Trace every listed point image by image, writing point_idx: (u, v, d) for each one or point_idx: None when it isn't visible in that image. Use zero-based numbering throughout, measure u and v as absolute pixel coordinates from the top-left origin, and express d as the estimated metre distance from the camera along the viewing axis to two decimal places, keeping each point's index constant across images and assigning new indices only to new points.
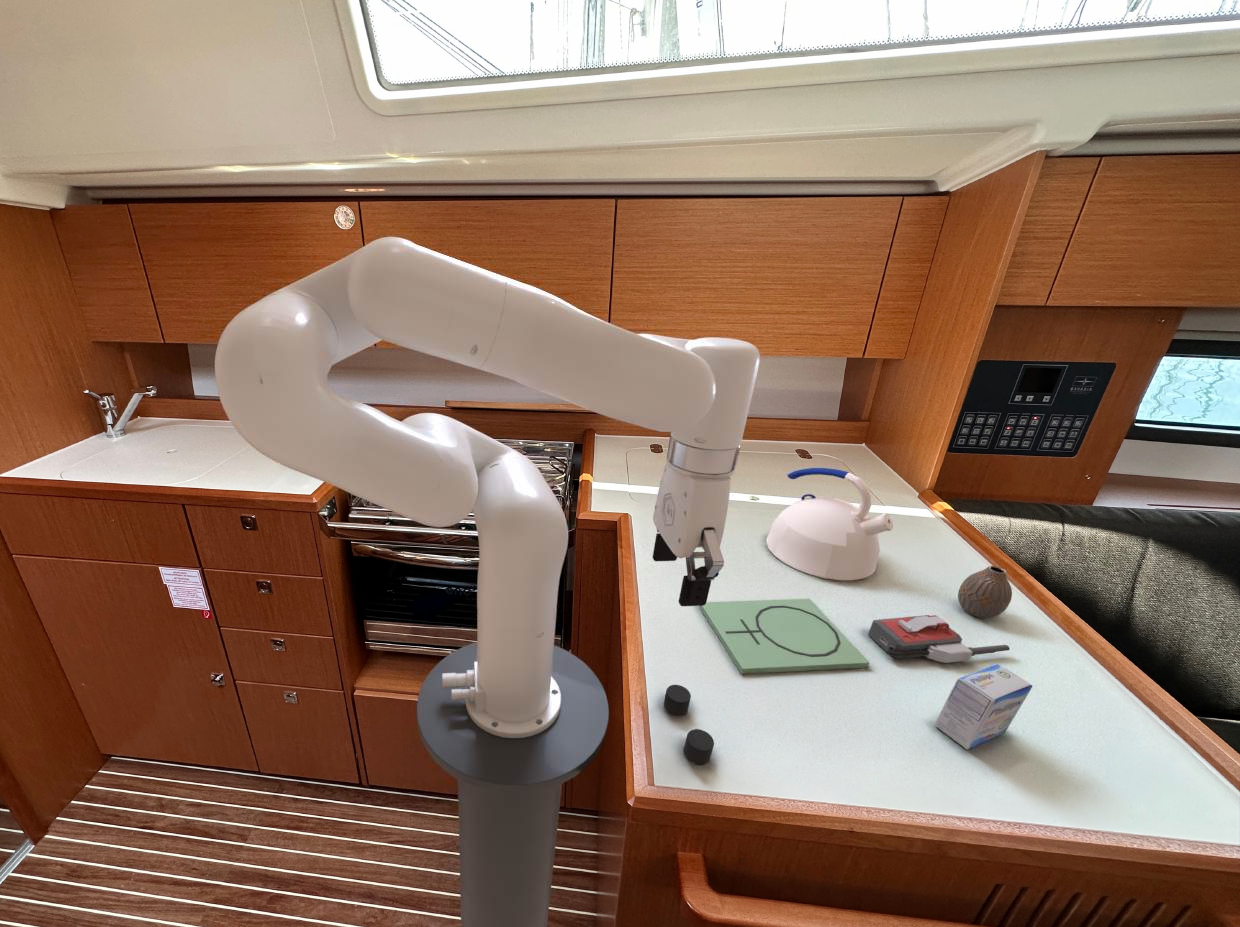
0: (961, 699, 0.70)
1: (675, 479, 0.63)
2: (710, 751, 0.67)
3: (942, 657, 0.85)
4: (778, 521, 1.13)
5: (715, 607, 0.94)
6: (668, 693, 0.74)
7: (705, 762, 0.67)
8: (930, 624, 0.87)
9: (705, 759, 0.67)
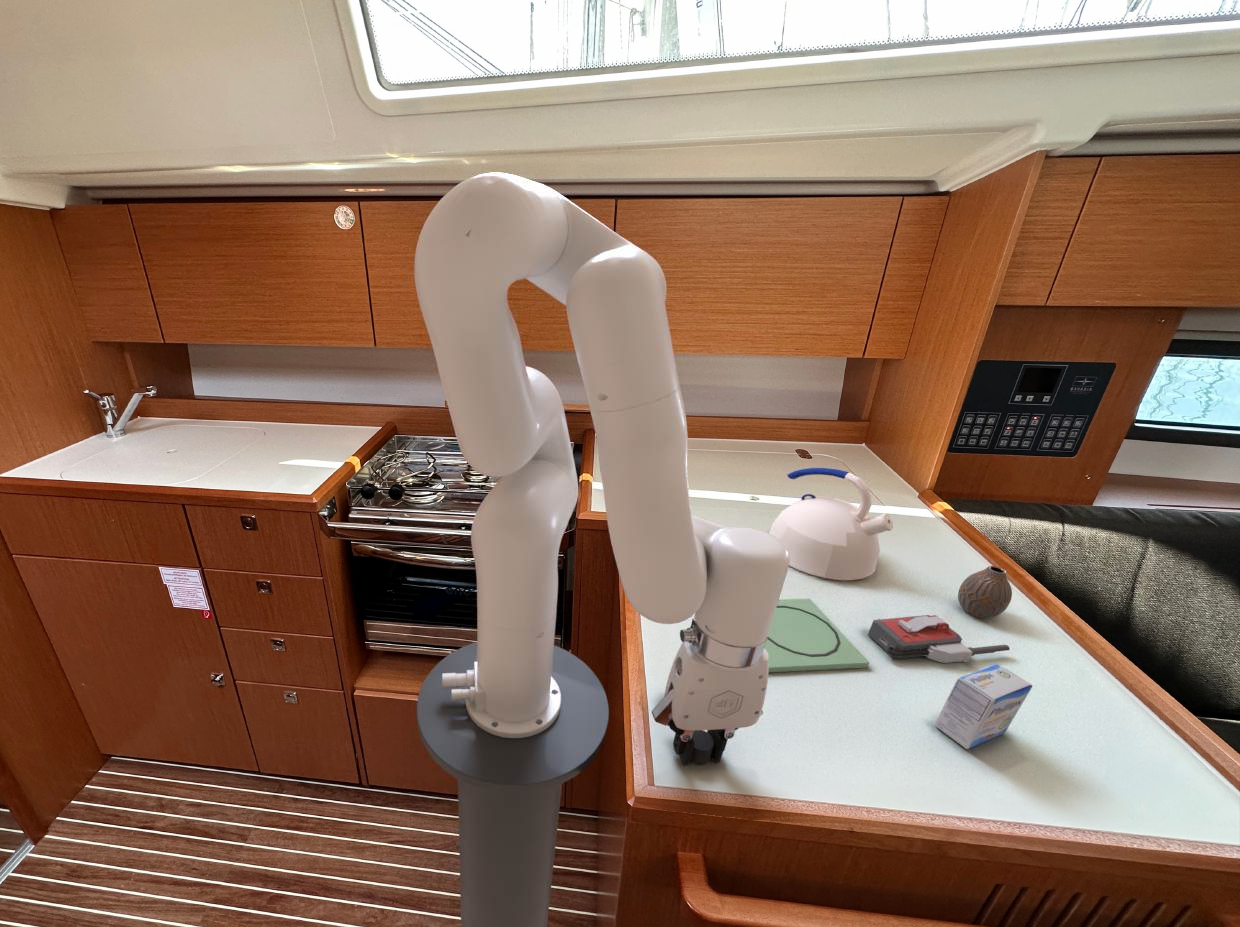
0: (961, 699, 0.70)
1: (735, 676, 0.59)
2: (710, 751, 0.67)
3: (942, 657, 0.85)
4: (778, 521, 1.13)
5: None
6: None
7: (705, 762, 0.67)
8: (930, 624, 0.87)
9: (705, 759, 0.67)
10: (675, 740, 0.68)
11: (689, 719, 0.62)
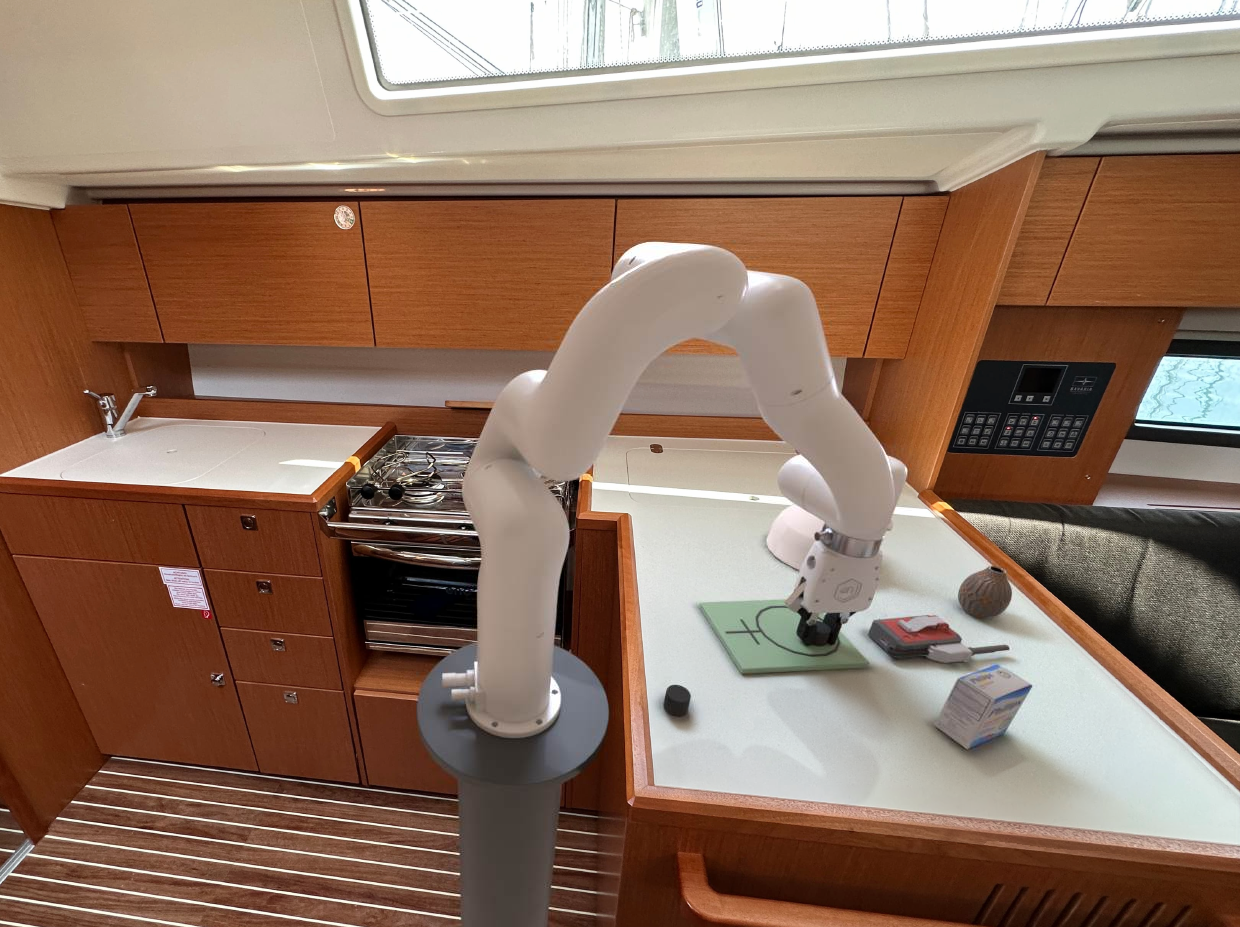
0: (961, 699, 0.70)
1: (858, 566, 0.78)
2: (828, 634, 0.86)
3: (942, 657, 0.85)
4: (778, 521, 1.13)
5: (715, 607, 0.94)
6: (668, 693, 0.74)
7: (824, 644, 0.86)
8: (930, 624, 0.87)
9: (824, 642, 0.86)
10: (799, 628, 0.87)
11: (819, 603, 0.81)
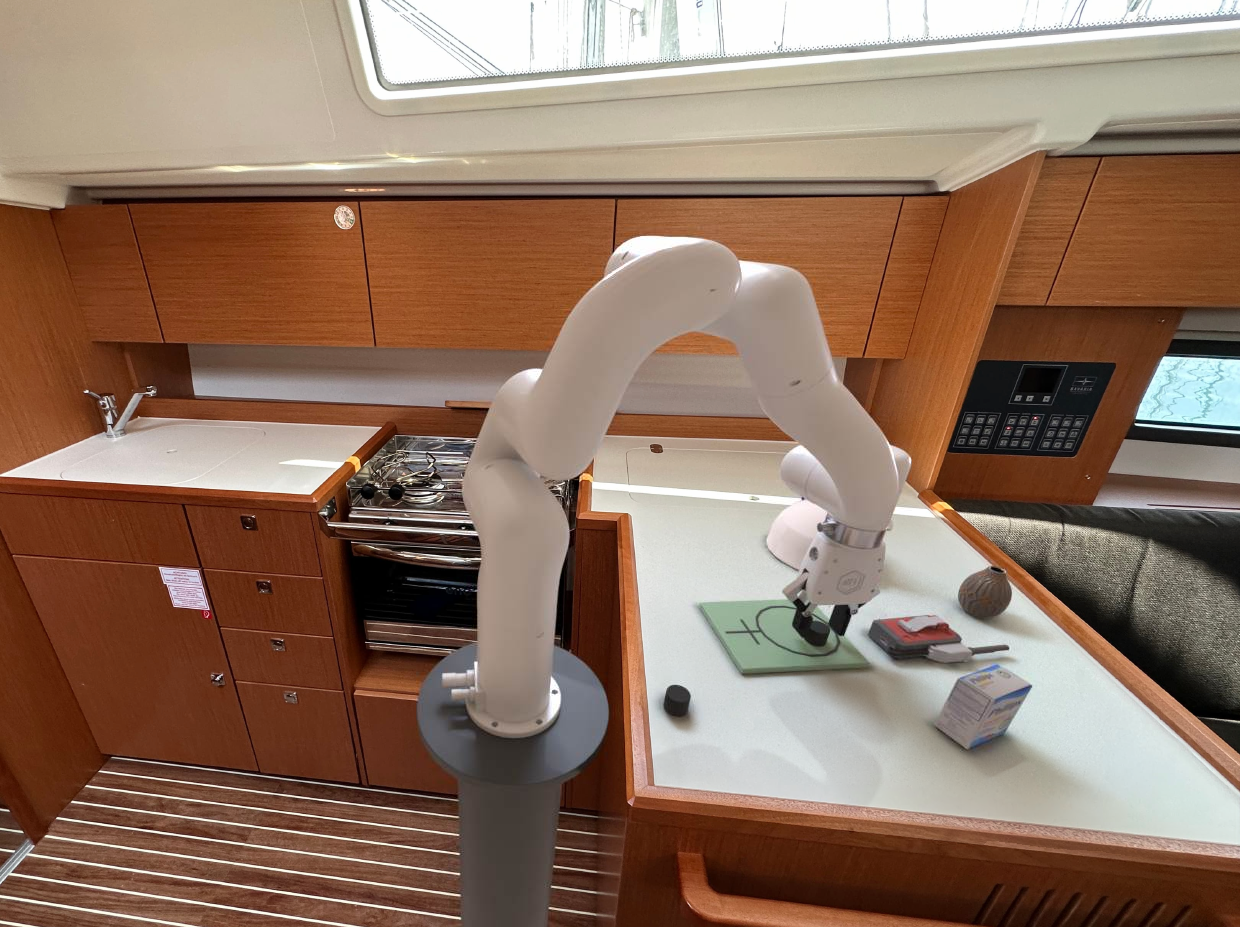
0: (961, 699, 0.70)
1: (861, 558, 0.78)
2: (828, 635, 0.86)
3: (942, 657, 0.85)
4: (778, 521, 1.13)
5: (715, 607, 0.94)
6: (668, 693, 0.74)
7: (823, 644, 0.86)
8: (930, 624, 0.87)
9: (824, 642, 0.86)
10: (794, 619, 0.86)
11: (821, 595, 0.80)
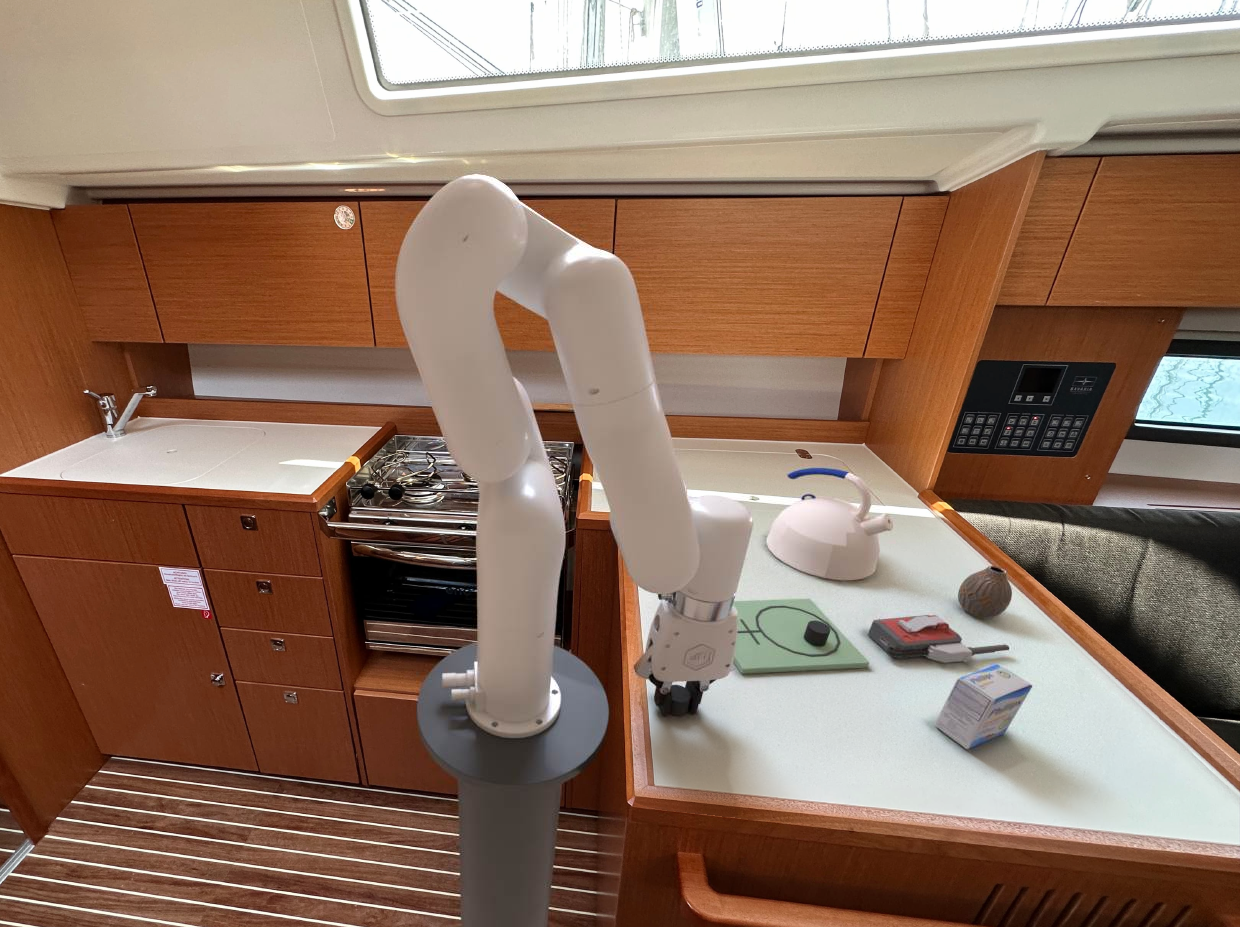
0: (961, 699, 0.70)
1: (707, 630, 0.66)
2: (828, 635, 0.86)
3: (942, 657, 0.85)
4: (778, 521, 1.13)
5: None
6: None
7: (823, 644, 0.86)
8: (930, 624, 0.87)
9: (824, 642, 0.86)
10: (655, 694, 0.75)
11: (666, 671, 0.69)
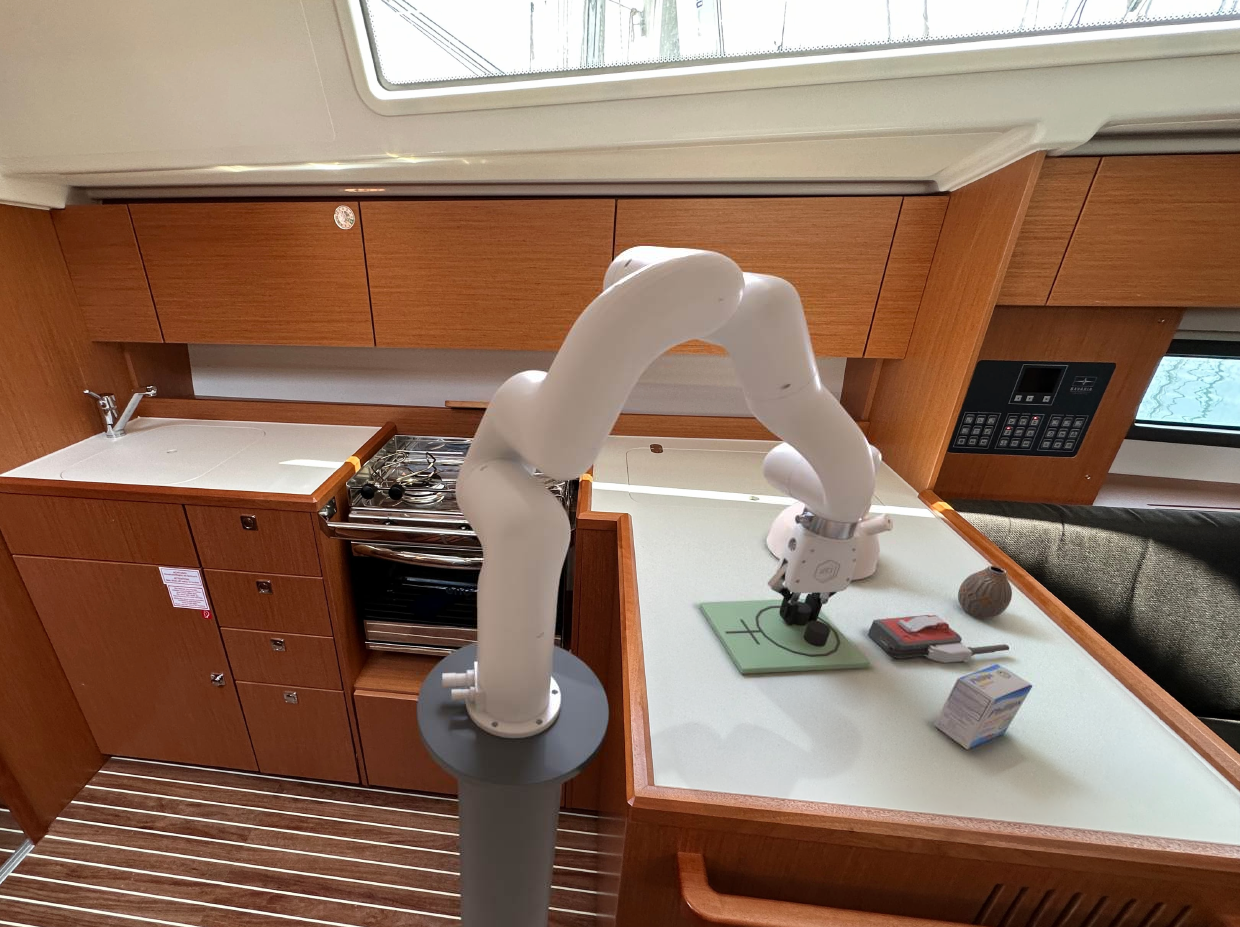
0: (961, 699, 0.70)
1: (836, 548, 0.83)
2: (828, 635, 0.86)
3: (942, 656, 0.85)
4: (778, 521, 1.13)
5: (715, 607, 0.94)
6: None
7: (823, 644, 0.86)
8: (930, 624, 0.87)
9: (824, 642, 0.86)
10: (781, 608, 0.91)
11: (799, 583, 0.85)
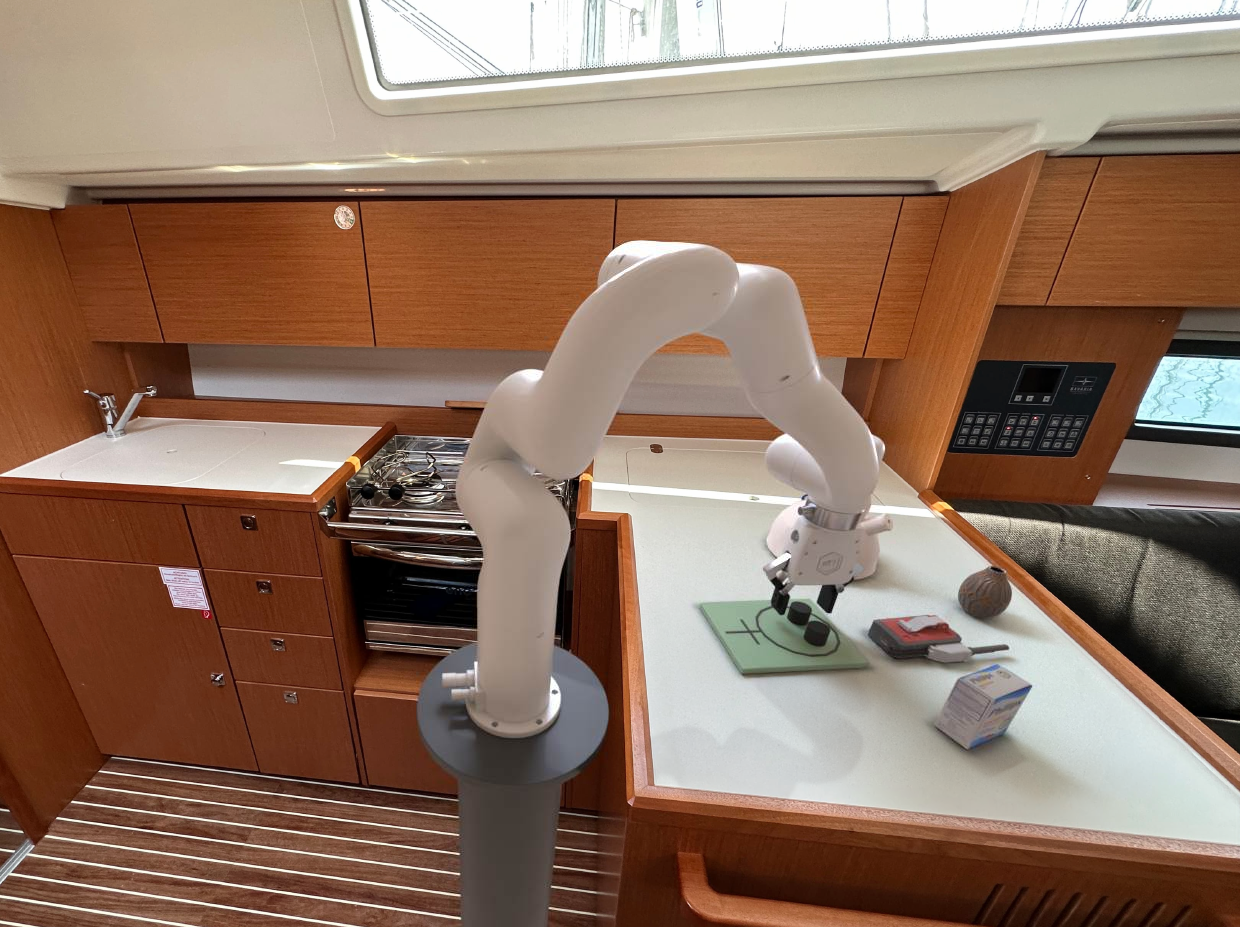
0: (961, 699, 0.70)
1: (839, 540, 0.82)
2: (828, 635, 0.86)
3: (942, 656, 0.85)
4: (778, 521, 1.13)
5: (715, 607, 0.94)
6: (793, 607, 0.91)
7: (823, 644, 0.86)
8: (930, 624, 0.87)
9: (824, 642, 0.86)
10: (773, 598, 0.90)
11: (802, 575, 0.84)
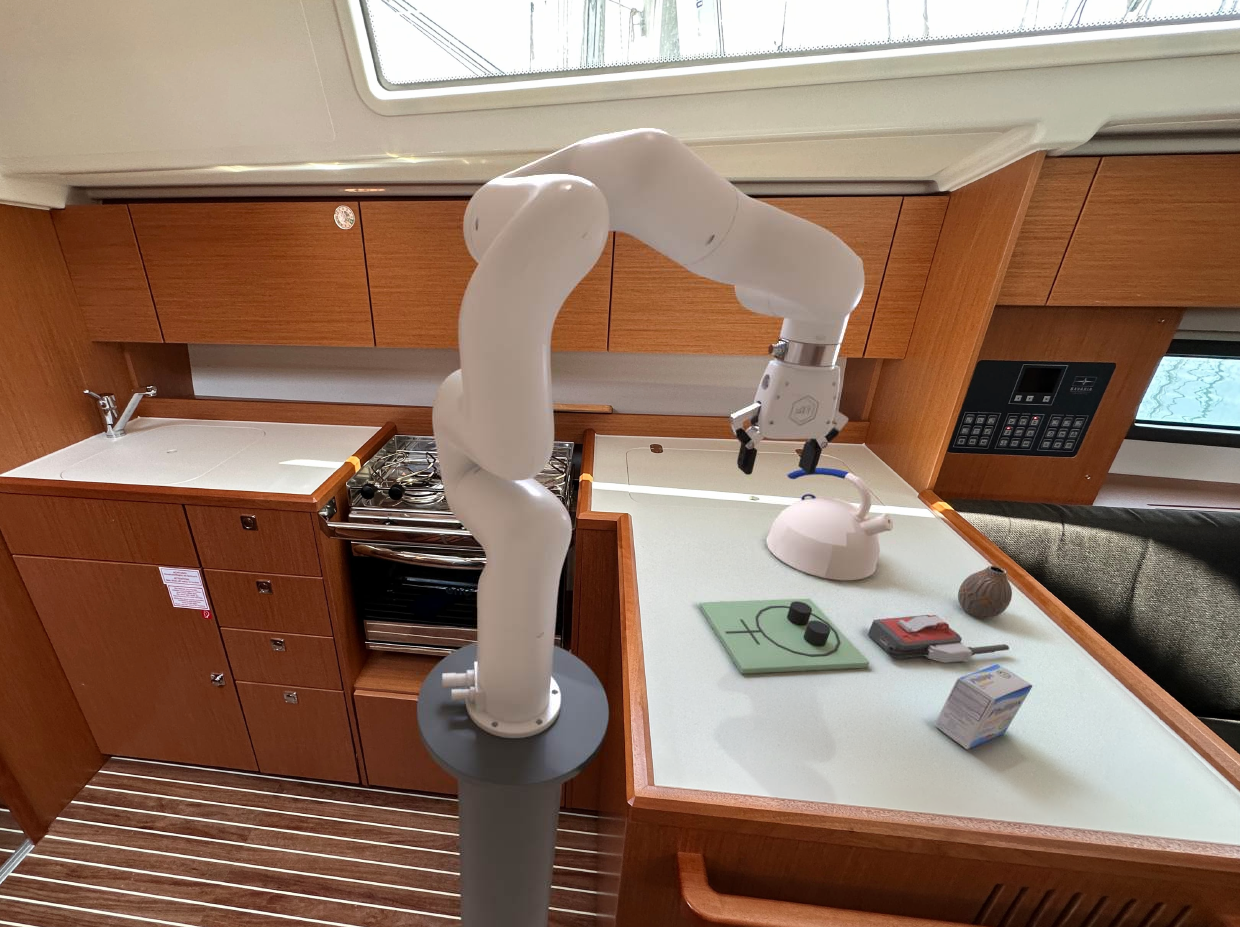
0: (961, 699, 0.70)
1: (814, 380, 0.74)
2: (828, 635, 0.86)
3: (942, 656, 0.85)
4: (778, 521, 1.13)
5: (715, 607, 0.94)
6: (793, 607, 0.91)
7: (823, 644, 0.86)
8: (930, 624, 0.87)
9: (824, 642, 0.86)
10: (739, 456, 0.81)
11: (774, 425, 0.76)
